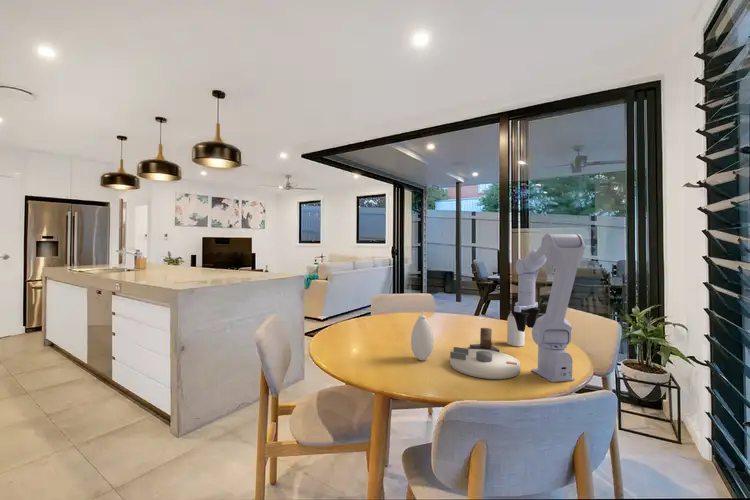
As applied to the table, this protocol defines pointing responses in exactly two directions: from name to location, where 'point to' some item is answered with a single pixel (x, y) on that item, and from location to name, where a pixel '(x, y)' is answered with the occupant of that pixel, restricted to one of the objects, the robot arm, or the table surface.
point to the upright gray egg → (422, 338)
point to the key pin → (485, 338)
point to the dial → (484, 363)
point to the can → (514, 333)
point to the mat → (477, 346)
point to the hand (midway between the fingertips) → (526, 329)
